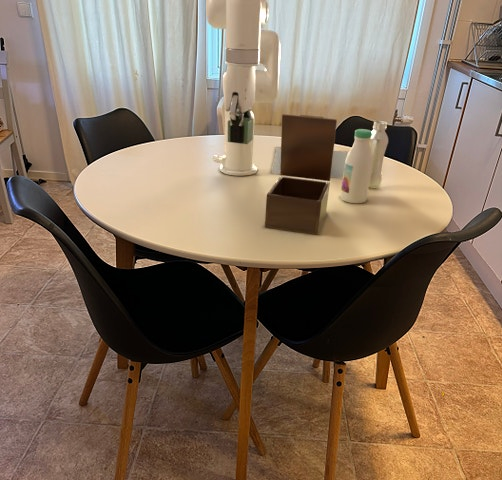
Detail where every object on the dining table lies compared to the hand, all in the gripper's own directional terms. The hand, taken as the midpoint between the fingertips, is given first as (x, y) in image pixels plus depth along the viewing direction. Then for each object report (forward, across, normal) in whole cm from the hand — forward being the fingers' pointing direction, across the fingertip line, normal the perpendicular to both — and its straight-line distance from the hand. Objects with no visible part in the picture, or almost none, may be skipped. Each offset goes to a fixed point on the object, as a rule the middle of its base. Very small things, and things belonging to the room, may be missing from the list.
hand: (240, 138), depth 116 cm
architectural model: (+21, -60, +10) cm, 65 cm away
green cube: (0, 0, 0) cm, 0 cm away
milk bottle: (+21, -26, +28) cm, 43 cm away
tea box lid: (+3, -10, +15) cm, 18 cm away
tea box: (+21, -4, +15) cm, 26 cm away
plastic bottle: (+21, -40, +32) cm, 55 cm away
